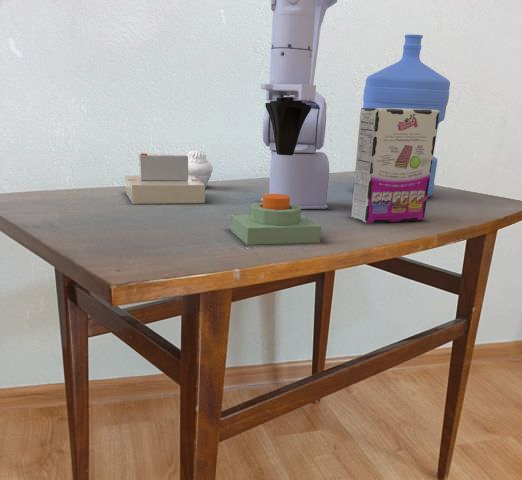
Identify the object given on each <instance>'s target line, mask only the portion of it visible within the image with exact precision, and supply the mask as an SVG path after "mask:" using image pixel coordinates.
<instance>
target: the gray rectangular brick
mask: <svg viewBox="0 0 522 480" xmlns="http://www.w3.org/2000/svg"><path fill="white" fill-rule="evenodd" d="M138 162H139V163H138V165H139V166H138V167H139V169H138V170H139V176H140V180H188V156H187V154H148V153H147V152H140V153H139V154H138Z"/></svg>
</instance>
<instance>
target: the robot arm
mask: <svg viewBox="0 0 522 480" xmlns="http://www.w3.org/2000/svg"><path fill="white" fill-rule="evenodd" d="M337 3H338V0H270V10H271V11H272V19H271V20H272V23H271V42H270V59H269V60H270V61H269V76H268V77H269V78H268V79H269V81H268V83H261V84H260V90H265V101H267V102H265V103H264V107H265V110H264V113H263V117H262V118H263V119H262V120H263V121H262V141H263V144H265V146H266V147H269V149H268V150H269V151H270V167H269V169H270V170H269V187H268V194H283V195H288V196H290V204H293V205H297V206H299V207H301V210H327V209H329V206H328V205H327V202H328V201H327V200H328V191H329V190H328V188H329V179H330V161H329V157H328V155H327V154H326V153H325V152H323V151H320V150H321V149H322V148H323V147H324V145H325V137H326V127H327V102H326V98H325V97H324V96H322V94H321V93H319V92H318V91H316V89H317V85H315V83H314V82H315V75H316V68H317V59H318V54H319V53H318V52H319V45H320V36H321V29H322V25H323V21H324V19H325V16H326V13H327V10H328V9H329V8H331V7H332V6H334V5H335V4H337ZM318 150H319V151H318ZM260 201H261V202H263V197H261V198H260Z"/></svg>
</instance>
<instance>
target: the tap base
mask: <svg viewBox="0 0 522 480" xmlns="http://www.w3.org/2000/svg"><path fill="white" fill-rule="evenodd" d="M199 180H200V179H196V178H195V177H193V176H188V180H140V175H124V181H125V182H124V183H125V194H126V196H127V197H128V199H129V200H130V203H132V205H147V204H148V205H150V204H153V205H154V204H155V205H156V204H157V205H158V204H160V205H161V204H163V205H164V204H205V203H206V187H205V185H204V184H203V183H202V182H200V181H199Z"/></svg>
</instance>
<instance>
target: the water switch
mask: <svg viewBox="0 0 522 480" xmlns="http://www.w3.org/2000/svg"><path fill="white" fill-rule="evenodd" d="M249 210H250V211H249V214H248V213H247V214H231V215H230V232H232V233H233V234H234V235H235V236H237V237H238V238H239V239H240V240H241V241H242V242H243V243H245V245H247V246H248V245H251V246H252V245H276V244H277V245H279V244H306V243H307V244H309V243H321V234H322V225H320V224H318V223H317V222H314V221H313V220H311V219H309V218H308V217H306V216H304V215H302V214H301V213H302V209H301V207H299V206H297V205H293V204H290V208H289V209H287V210H273V209H266V208H262V201H261V202H253V203H252V204H251V205H250V209H249Z"/></svg>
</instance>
